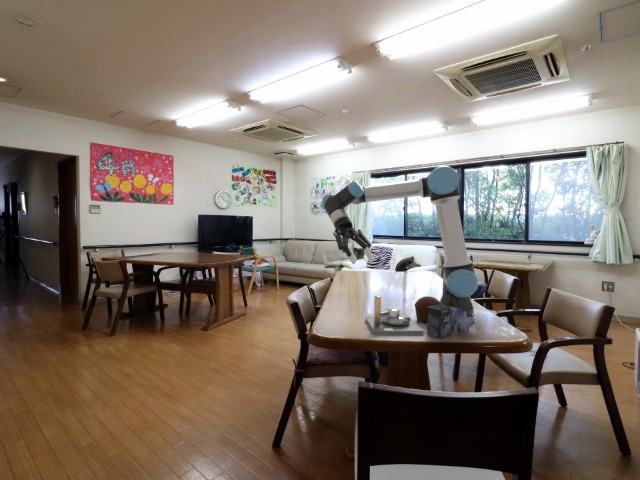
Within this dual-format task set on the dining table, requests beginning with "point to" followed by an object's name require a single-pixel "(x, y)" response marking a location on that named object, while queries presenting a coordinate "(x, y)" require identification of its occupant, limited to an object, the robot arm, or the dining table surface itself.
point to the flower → (462, 320)
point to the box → (440, 321)
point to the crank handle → (388, 315)
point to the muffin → (424, 308)
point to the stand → (394, 328)
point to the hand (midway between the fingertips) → (364, 261)
